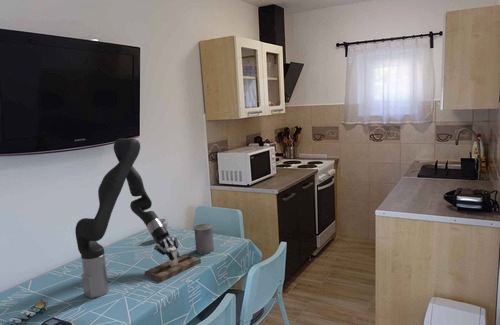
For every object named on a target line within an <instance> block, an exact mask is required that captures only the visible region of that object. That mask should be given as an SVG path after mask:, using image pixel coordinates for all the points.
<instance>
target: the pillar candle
mask: <svg viewBox="0 0 500 325" xmlns="http://www.w3.org/2000/svg"><path fill="white" fill-rule="evenodd" d="M212 225H213V224H210V223H201V224H197V225H195V226H194V227H193V228H194V241H195V252H196V253H197V254H200V255H204V254H205V255H206V254H209V253H212V252H213V251H215V245H214V234H213V226H212Z"/></svg>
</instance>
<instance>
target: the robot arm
mask: <svg viewBox="0 0 500 325" xmlns="http://www.w3.org/2000/svg"><path fill="white" fill-rule="evenodd" d="M113 151H114V154H115V157H116V159H117V161H118V163H117V164H116V165H115V166H113V168H111V169H110V170H109V171H108V172H107V173H106V174H105V175H104V177H103V178H102V180H101V182H100V185H99V187H98V190H97V192H98V193H97V196H98V203H99V206H98V210H97V212H96V215H95V217H94V218H89V217H84V218H80V219H79V220H78V221H77V223H76V226H75V229H74V231H75V239H76V244H77V249H78V252H79V254H80V258H81V265H82V272H83V273H82V274H81V281H82V288H83V296H85V297H88V298H89V299H93V298H99V297H101V296H104V295H106V294H107V293H108V292H109V290H110V289H109V283H108V282H109V281H108V274H107V265H106V264H107V262H106V256H105V248H104V246H103V245H101V244H100V243H98V241H101V239H102V238H103V237H104V236H105V234H106V232H107V229H108V227H109V226H108V225H109V222H110V219H111V217H112V213H113V211H114V208H115V205H116V202H117V200H118V198H119V196H120V194H121V191H122V189H123V187H124V185H125V181H126V182H127V185H128V188H129V192H130V194H131V196H132V197H138V198H136V199H134V200H132V201H131V202H130V204H129V207H130V210H131V211H132V213H134V214H135V216H137V217H138V218H140V220H141V221H142V222H143V223H144V225H145V227H146V228H147V231H148V232H149V234H150V235H151V237H152V238H153V240H154V242H156V244H155V246H154V247H153V249H154V250H155V251H157V252H158V253H160V254H161V255H162V256H165V255H166V256H167V257H168V260H169V259H170V260H171V261H172V260H174V256H173V255H172V253H171V252H170V250H169V248H171V247H173V248H176V249H177V258H179V256H180V253H179V251H178V248H179V242H178V237H172V236H171V235H170V233H169V230H168V231H167V230H166V228H165V227H164V225H163V223H162V222H161V221H160V220H159V219H160V218H159V217H158V216H157V214H156V212H155V211H153V210H149V209H151V207H152V205H153V204H152V199H151V197H150V196H149V195H148V194H147V191H146V189H145V185H144V181H143V179H142V176H141V174H139V171H137V170H136V168H135V167H134V166H133V165H134V163H135V162H136V160H137V158H138V156H139V154H140V151H141V142H140V141H139V140H138V139H136V138H126V137H125V138H118V139H116V140H115V141H114V143H113ZM147 210H148V211H147Z"/></svg>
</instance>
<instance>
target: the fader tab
mask: <svg viewBox="0 0 500 325" xmlns="http://www.w3.org/2000/svg"><path fill="white" fill-rule="evenodd" d="M169 250H170V252H171V253H172V255H173V256H174V260H172V261H171V260H170V259H169V258H168V261H169V265H171V267H174V266H176V265H177V264H178V260H177V251H178V248H177V249H176V248H173V247H171V248H169Z"/></svg>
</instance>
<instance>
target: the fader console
mask: <svg viewBox="0 0 500 325" xmlns="http://www.w3.org/2000/svg"><path fill="white" fill-rule="evenodd" d="M177 260H178V264H177V265H176V266H174V267H171V265H169V260H167V261H165V262H163V263H161V264H158V265H156V266H154V267H151V268H150V269H147V270H144V276H145V277H146V278H149V279H152V280H155V281H158V282H161V283H162V282H164V281H166V280H168V279H169V280H170V278H173V277H174V276H177V275H179V274H181V273H183V272H185V271H187V270H189V269H191V268H193V267H195V266H197V265H199V264H201V262H202V260H201V258H199V257H195V256H194V255H190V254H186V253H184V254H181V255H179V258H177Z"/></svg>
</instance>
